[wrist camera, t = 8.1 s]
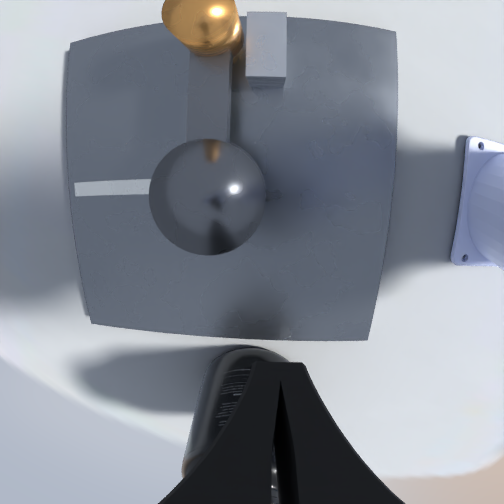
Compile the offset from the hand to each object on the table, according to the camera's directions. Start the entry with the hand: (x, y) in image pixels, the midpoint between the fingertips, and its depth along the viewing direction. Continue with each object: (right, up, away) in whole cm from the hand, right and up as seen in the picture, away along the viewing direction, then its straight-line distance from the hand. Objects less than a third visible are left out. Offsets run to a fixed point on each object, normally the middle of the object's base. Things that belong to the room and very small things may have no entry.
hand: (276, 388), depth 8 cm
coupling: (-2, +9, +5) cm, 11 cm away
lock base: (-2, +7, +8) cm, 12 cm away
